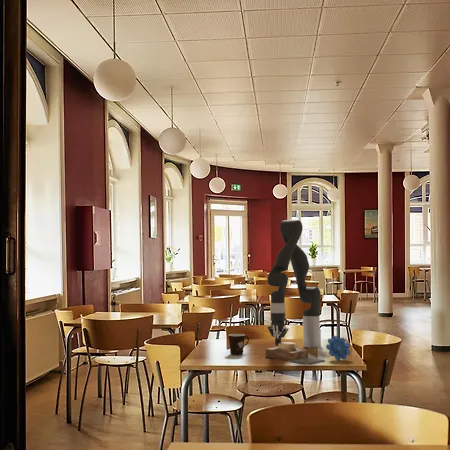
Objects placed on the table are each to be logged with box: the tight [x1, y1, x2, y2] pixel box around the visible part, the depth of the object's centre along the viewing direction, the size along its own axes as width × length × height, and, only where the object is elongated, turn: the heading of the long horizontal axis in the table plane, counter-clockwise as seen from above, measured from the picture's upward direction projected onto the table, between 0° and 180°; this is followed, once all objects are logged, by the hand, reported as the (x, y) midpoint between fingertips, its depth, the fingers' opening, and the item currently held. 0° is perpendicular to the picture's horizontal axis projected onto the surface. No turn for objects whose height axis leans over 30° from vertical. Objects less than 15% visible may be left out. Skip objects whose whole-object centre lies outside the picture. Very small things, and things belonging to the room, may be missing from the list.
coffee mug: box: [228, 333, 250, 356], centre depth 329 cm, size 12×9×10 cm
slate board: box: [289, 356, 326, 365], centre depth 306 cm, size 13×11×1 cm
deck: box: [265, 346, 309, 362], centre depth 318 cm, size 12×18×4 cm, turn 42°
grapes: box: [326, 335, 351, 361], centre depth 309 cm, size 12×7×12 cm, turn 82°
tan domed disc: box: [277, 341, 297, 351], centre depth 318 cm, size 9×9×3 cm
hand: (278, 345), depth 322 cm, fingers closed
